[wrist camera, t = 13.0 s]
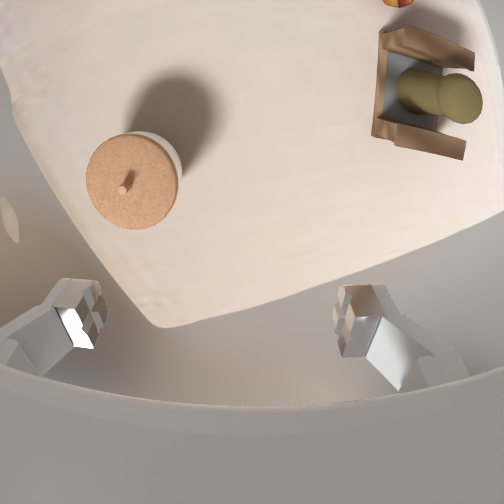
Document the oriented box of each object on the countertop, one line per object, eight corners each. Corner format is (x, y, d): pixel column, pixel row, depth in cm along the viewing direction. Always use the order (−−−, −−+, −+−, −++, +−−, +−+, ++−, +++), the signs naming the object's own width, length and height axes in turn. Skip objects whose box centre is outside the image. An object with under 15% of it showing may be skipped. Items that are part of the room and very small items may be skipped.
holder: (377, 31, 26) (406, 22, 19) (439, 51, 26) (474, 50, 19) (369, 135, 33) (396, 148, 26) (429, 146, 33) (462, 163, 27)
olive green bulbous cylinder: (442, 97, 28) (498, 110, 19) (414, 123, 30) (466, 143, 21) (417, 59, 26) (471, 58, 17) (386, 85, 28) (436, 90, 19)
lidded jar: (104, 185, 36) (70, 214, 28) (128, 112, 32) (93, 123, 24) (172, 216, 39) (153, 252, 31) (205, 144, 34) (189, 163, 26)
